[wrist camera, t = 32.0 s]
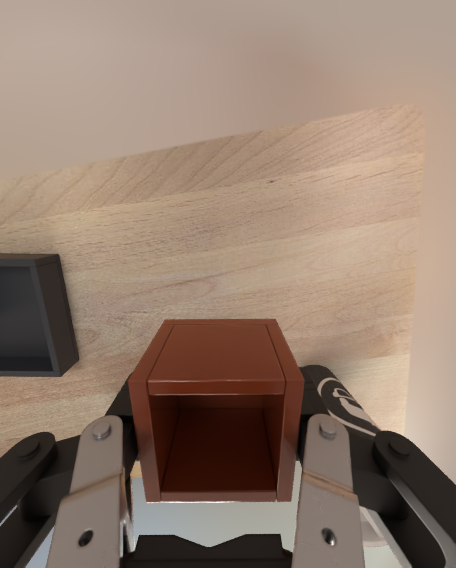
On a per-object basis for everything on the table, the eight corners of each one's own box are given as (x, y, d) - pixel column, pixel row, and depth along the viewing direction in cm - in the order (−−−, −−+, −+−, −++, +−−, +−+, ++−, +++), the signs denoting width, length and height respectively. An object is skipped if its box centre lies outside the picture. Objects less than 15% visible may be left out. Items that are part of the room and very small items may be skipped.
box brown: (164, 318, 11) (126, 380, 7) (275, 318, 11) (305, 379, 7) (172, 408, 13) (145, 503, 9) (270, 408, 13) (291, 502, 9)
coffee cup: (275, 360, 31) (316, 480, 17) (345, 350, 31) (447, 464, 17) (282, 415, 34) (322, 559, 20) (346, 406, 34) (436, 547, 19)
